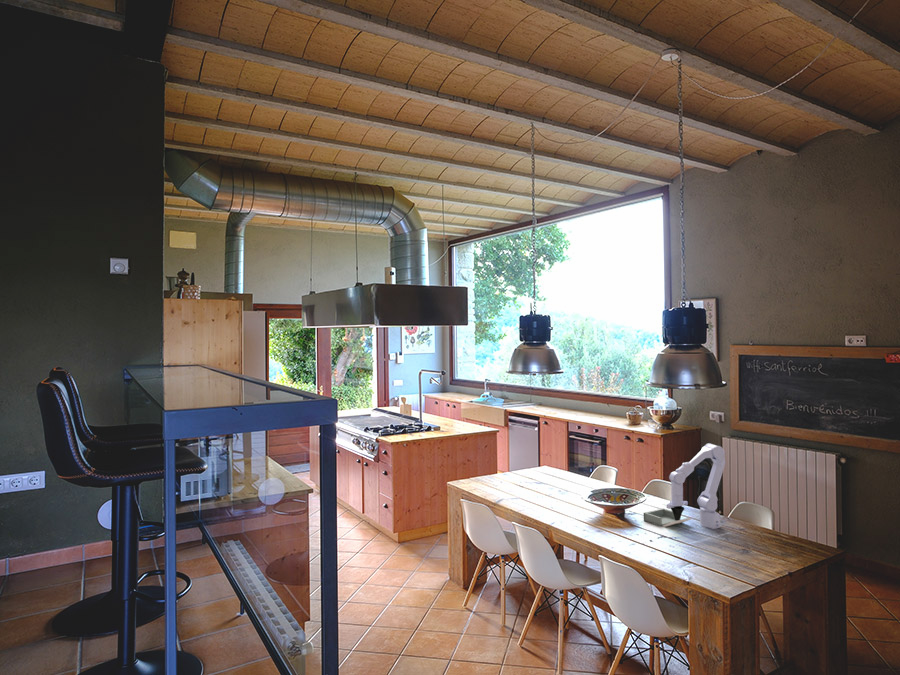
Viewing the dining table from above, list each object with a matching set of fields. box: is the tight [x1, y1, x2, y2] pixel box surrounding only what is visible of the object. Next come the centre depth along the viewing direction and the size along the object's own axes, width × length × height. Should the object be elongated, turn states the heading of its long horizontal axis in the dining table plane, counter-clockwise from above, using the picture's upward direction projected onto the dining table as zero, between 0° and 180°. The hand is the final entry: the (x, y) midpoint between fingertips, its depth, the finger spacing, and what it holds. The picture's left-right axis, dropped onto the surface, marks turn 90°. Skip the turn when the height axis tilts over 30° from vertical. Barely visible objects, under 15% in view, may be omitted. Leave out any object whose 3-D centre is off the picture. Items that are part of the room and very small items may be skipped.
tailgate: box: [662, 517, 692, 528], centre depth 290 cm, size 8×14×1 cm
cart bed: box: [643, 508, 677, 527], centre depth 298 cm, size 11×16×5 cm
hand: (677, 520), depth 289 cm, fingers closed, pressing on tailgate
